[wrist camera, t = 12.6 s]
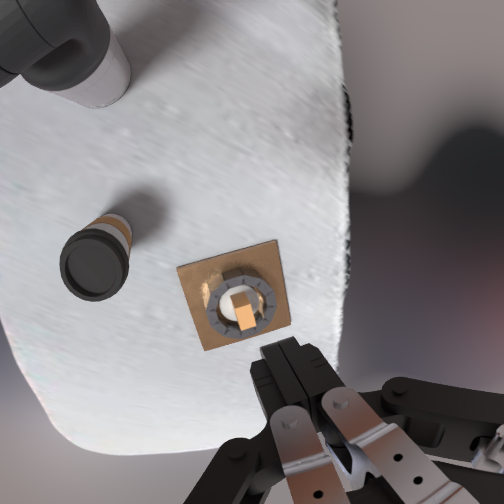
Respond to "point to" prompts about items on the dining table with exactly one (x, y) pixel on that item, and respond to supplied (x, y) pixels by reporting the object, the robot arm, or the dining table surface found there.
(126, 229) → the coffee cup
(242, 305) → the cap
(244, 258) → the board with grey ring
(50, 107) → the dining table surface
